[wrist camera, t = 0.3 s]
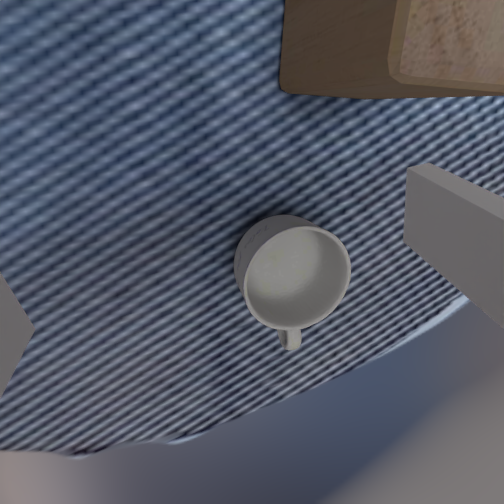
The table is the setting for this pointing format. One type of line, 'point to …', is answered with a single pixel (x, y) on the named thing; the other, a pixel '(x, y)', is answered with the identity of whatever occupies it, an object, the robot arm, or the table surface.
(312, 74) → the wooden block
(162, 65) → the table surface
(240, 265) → the teacup
